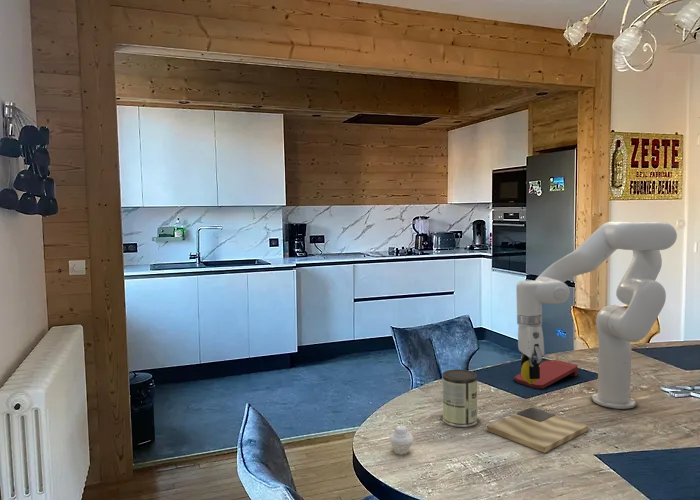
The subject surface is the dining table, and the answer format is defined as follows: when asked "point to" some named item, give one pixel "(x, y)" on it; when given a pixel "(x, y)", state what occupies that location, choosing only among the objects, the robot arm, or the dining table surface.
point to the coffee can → (460, 398)
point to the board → (537, 429)
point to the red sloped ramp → (550, 373)
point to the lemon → (526, 372)
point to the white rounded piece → (401, 440)
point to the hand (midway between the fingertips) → (530, 375)
